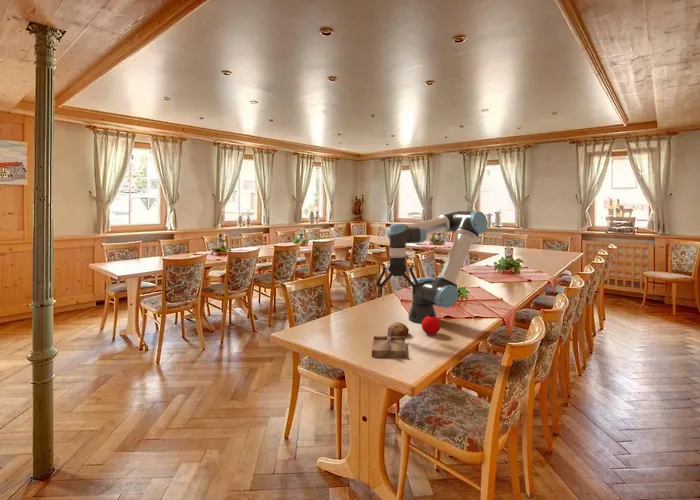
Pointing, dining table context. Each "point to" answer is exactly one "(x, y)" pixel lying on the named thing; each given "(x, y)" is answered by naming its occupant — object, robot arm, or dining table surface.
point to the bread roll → (399, 330)
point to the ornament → (431, 324)
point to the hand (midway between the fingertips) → (397, 300)
